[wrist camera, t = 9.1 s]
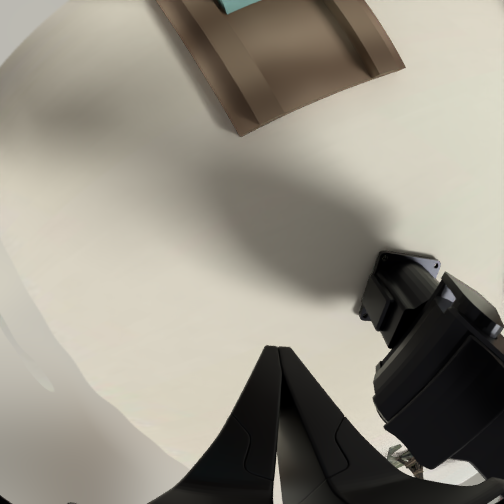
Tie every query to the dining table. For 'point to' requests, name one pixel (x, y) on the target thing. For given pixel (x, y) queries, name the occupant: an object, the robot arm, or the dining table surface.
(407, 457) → the eiffel tower figurine
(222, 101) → the chute
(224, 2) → the block
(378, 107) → the dining table surface
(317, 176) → the dining table surface
